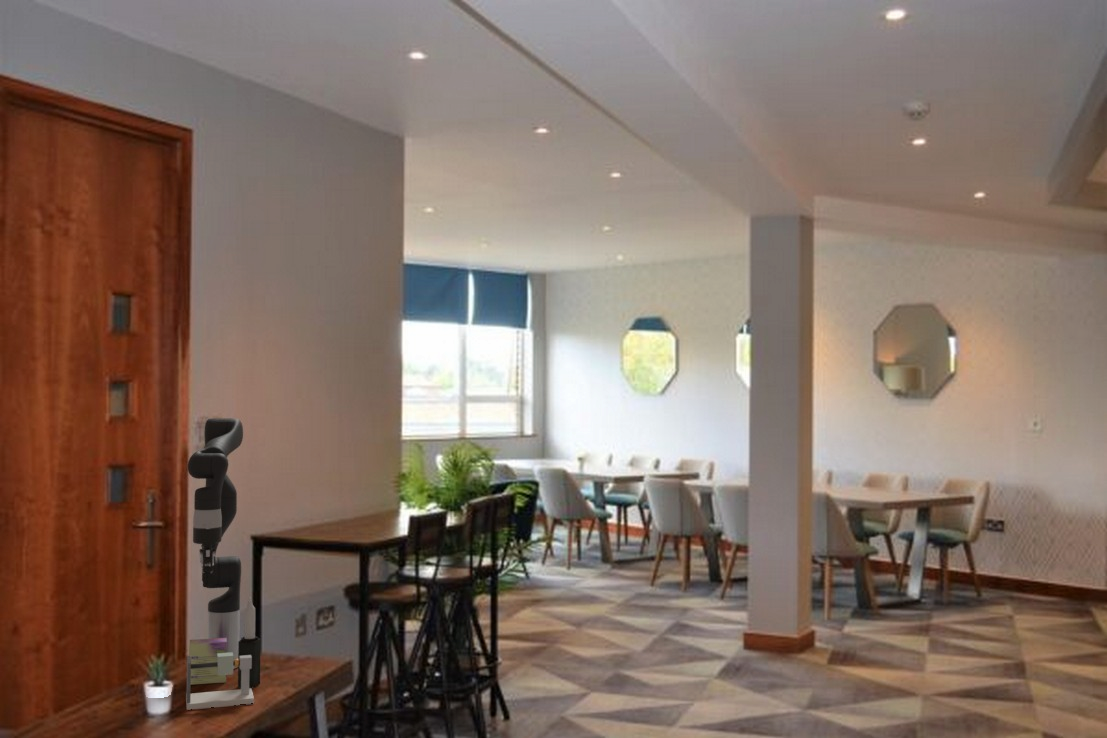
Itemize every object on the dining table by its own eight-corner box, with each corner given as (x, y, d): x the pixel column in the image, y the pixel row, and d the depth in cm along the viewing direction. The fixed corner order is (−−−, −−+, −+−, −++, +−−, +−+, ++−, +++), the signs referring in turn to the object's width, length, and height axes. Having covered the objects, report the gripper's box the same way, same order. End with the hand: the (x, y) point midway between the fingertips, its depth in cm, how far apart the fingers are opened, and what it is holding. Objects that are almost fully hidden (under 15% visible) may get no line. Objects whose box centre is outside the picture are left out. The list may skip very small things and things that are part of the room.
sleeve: (216, 671, 284) (217, 653, 284) (232, 670, 285) (232, 652, 285) (217, 675, 280) (217, 656, 280) (233, 674, 281) (233, 655, 281)
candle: (252, 688, 295) (254, 598, 295) (236, 687, 296) (237, 598, 296) (261, 683, 300) (262, 595, 300) (245, 682, 301) (246, 594, 301)
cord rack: (186, 699, 284) (186, 654, 284) (251, 693, 289) (251, 650, 290) (186, 709, 274) (187, 663, 274) (254, 703, 280) (254, 658, 280)
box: (226, 677, 306) (226, 636, 306) (226, 682, 300) (227, 641, 301) (188, 680, 303) (189, 639, 303) (188, 685, 297) (188, 643, 298)
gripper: (192, 522, 296) (191, 580, 295) (193, 529, 282) (192, 589, 282) (220, 522, 298) (219, 579, 298) (222, 528, 285) (222, 587, 284)
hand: (206, 584), depth 290 cm, fingers open, 8 cm apart
